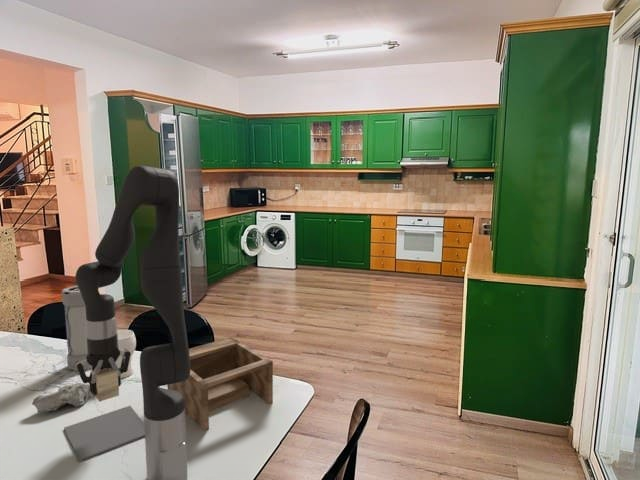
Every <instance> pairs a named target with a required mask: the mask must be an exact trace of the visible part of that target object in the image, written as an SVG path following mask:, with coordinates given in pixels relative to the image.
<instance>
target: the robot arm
mask: <svg viewBox="0 0 640 480" xmlns="http://www.w3.org/2000/svg"><path fill="white" fill-rule="evenodd" d="M141 206H146V207H154V208H155V225H154V230H153V233H152V234H151V237H150V239H149V240H148V242H147V244H146V247H145V248H144V250H143V252H142V254H141V257H140V261H139V273H140V286H141V287H140V288H141V292H142V294H143V295H144V297H145V298H146V300H147V301H148V302H149V304H151V306H152V307H153V308H154V309H155V311H156V312H158V314H159V315H160V317H161V318H162V320H163V321H164V322H165V324H166V325H167V327H168V330H169V331H170V334H171V337H172V342H171V343H165V344H158V345H153V346H152V345H151V346H148V347H144V348H143V349H142V350H141V353H140V355H139V368H140V378H141V386H142V387H141V388H142V399H143V400H142V403H143V423H144V427H145V437H144V443H145V465H146V466H145V467H146V479H147V480H188V458H187V457H188V456H187V455H188V454H187V453H188V451H187V428H186V425H187V424H186V412H185V399H184V396H183V395H182V394H181V393H180V392H178V391H175V390H170V389H168V388H164V387H162V386H167V385H168V384H173V383H178V382H182V381H185V380H187V379H188V377H189V375H190V356H189V349H190V348H189V342H188V341H189V340H188V334H187V327H186V321H185V319H186V318H185V310H184V309H185V308H184V293H183V292H184V290H183V289H184V288H183V272H182V271H183V270H182V262H181V251H180V233H179V221H180V220H179V217H180V216H179V215H180V214H179V212H180V208H179V207H180V188H179V182H178V178H177V176H176V174H175V173H174V172H173V171H172V170H170V169H167V168H161V167H160V168H159V167H155V166H154V167H153V166H148V165H147V166H146V165H136V166H134V167H131V168H130V170H129V171H128V173H127V174H126V176H125V178H124V180H123V184H122V186H121V189H120V192H119V195H118V197H117V201H116V203H115V207H114V210H113V214H112V217H111V220H110V223H109V225H108V227H107V229H106V231H105V233H104V235H103V237H102V238H101V240H100V242H99V244H98V245H97V246H96V249H95V251H94V252H95V254H94V255H95V259H96V260H97V261H94V262H92V261H91V262H88V263H84V264H81V265H80V266H79V267H78V268H77V269H76V272H75V283H76V286H78V288H79V290H80V293H81V295H82V298H83V301H84V303H85V308H86V337H87V350H88V355H87V357H86V359H85V360H83V361H76V362H75V365H76V367H77V370H78V371H77V372H78V375H79V378H80V380H81V381H82V383H83V384H89V385H88V388H89V393H90V394H92V395H93V396H95V397H96V395H97V388H96V375H98V374H99V371H100V370H103V369H105V368H111V367H112V369H113V370H116V371H117V372H118V386H119V387H120V386H121V385H122V382H121V379H122V378H120V375H121V374H122V373H124V372H127V370H128V365H129V360H130V355H131V353H130V352H129V350H127V349H125V350H124V351H120V350H119V349H118V336H117V330H118V323H117V319H116V306H115V299H114V297H113V296H112V295H110V294H106V293H105V294H102V293H100V291H99V289H101V288H105V287H108V286H111V285H113V284H115V283H116V282H117V281H118V280H119V279H120V278H121V274H122V269H123V265H124V260H125V259H126V258H127V255H128V254H129V252H130V251H131V248H132V247H133V244H134V242H135V238H136V233H135V227H134V221H133V219H134V218H133V217H134V214H135V213H136V211H137V210H138V209H140V207H141ZM120 355H121V357H122V362H121V367H120V368H118V367H117V365H116V363H115V362H116V360H117V359H118V357H119V356H120ZM87 363H89V364H90V365H91V366H92V367H91V368H90V373H89V376H87V373H86V372H85V371H86V370H84V369H85V368H86V364H87Z"/></svg>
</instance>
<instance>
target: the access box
mask: <svg viewBox="0 0 640 480" xmlns="http://www.w3.org/2000/svg"><path fill="white" fill-rule="evenodd" d="M189 356H190V375H189V377H188V379H187V380H185V381H182V382H178V383H173V384H168V385H166V386H167V389H170V390H175V391H178V392H180V393H181V394H182V395H183V396H184V399H185V414H186V415H187V416H189V417H190V419H191V420H192V421H194V423H195V424H196V425H198V427H200V428H201V430H202V431H203V432H204V431H207V430H209V429H210V422H209V421H210V420H209V419H210V418H209V417H210V412H212V411H215V410H218V409H220V408H222V407H225V406H228V405H230V404H232V403H233V404H234V403H235V402H239V401H241V400H243V399H246V398H248V396H250V392H251V393H253V394H254V395H255V396H257V397H259V398H260V399H261V400H262V401H264V402H266V404H272V403H273V402H274V401H273V400H274V388H273V387H274V383H273V382H274V380H273V379H274V378H273V377H274V371H273V370H274V369H273V368H274V363H273V360H271V359H269V358H268V357H266V356H264V355H262V354H261V353H259V352H258V351H256V350H255V349H253V348H252V347H251V348H250V347H249V346H247V345H246V344H244V343H242V342H241V341H239V340H237V339H235V338H234V337H232V336H230V337H227V338H223V339H219V340H216V341H212V342H208V343H205V344H201V345H198V346H194V347H191V348H189Z"/></svg>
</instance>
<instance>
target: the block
mask: <svg viewBox="0 0 640 480" xmlns="http://www.w3.org/2000/svg"><path fill="white" fill-rule="evenodd" d="M96 388H97V395H95V397H96V398H97V400H98V402H102V401H106V400H109V399H112V398H116V397H119V396H120V390H119V389H120V386H118V372H117V371H116V370H113V369H112V367H111V368H105V369H103V370H100V371H99V374H98V375H96Z"/></svg>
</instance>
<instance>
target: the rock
mask: <svg viewBox="0 0 640 480" xmlns="http://www.w3.org/2000/svg"><path fill="white" fill-rule="evenodd" d="M89 394H90V388H89V385H87V384H86V383H83V382H82V383H81V382H77V383H70V385H69V384H67V385H63V386H62V387H59V388H58V391H56V392H53V393H50V394H46V395H38V396H37V397H35V398H34V399H33V401H32V403H31V404H32V406H34V407H35V408H36V409H37V413H40V414H41V413H43V412H46V413H48V412H51V411H56V410H58V409H59V408H60V407H62V406H64V405H65V404H69V405H70V406H71V405H72V406H74V407H76V408H78V407H80V406H85V405H86V404H87V402H88V401H89V397H90V395H89Z"/></svg>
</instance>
